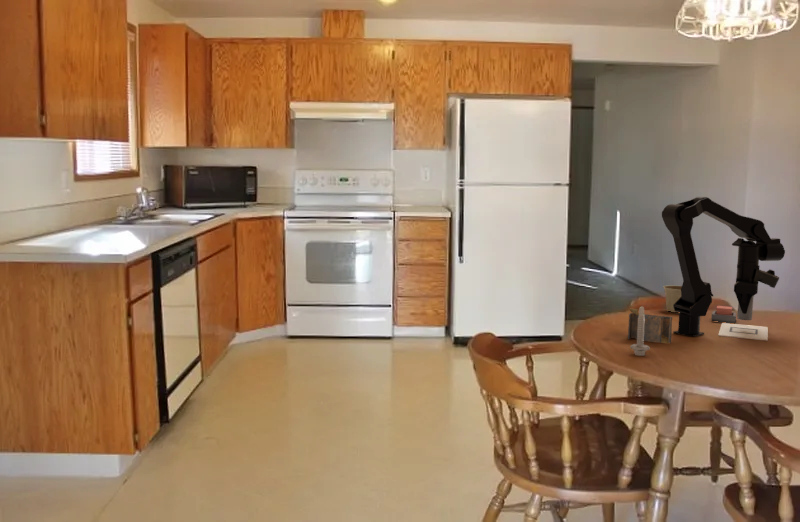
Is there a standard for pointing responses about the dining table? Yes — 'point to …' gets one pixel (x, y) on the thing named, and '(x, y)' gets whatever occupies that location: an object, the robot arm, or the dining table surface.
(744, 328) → the paper sheet
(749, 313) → the grey cylinder
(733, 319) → the button housing
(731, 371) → the dining table surface
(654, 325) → the bent metal bracket
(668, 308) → the flower pot
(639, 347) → the screw
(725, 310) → the button
